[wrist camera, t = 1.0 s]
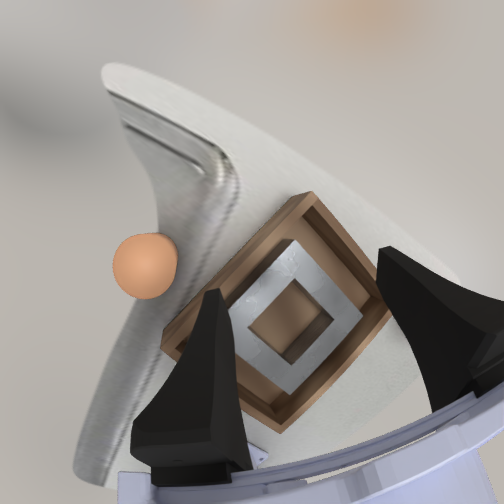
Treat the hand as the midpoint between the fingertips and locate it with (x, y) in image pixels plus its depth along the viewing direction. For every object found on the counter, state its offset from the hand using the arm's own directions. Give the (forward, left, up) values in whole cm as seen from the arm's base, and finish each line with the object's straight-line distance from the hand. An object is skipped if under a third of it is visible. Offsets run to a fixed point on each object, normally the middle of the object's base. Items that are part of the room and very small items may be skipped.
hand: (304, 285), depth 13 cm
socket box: (-1, -7, -15) cm, 16 cm away
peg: (-5, +5, -15) cm, 16 cm away
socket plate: (-1, -7, -15) cm, 16 cm away
